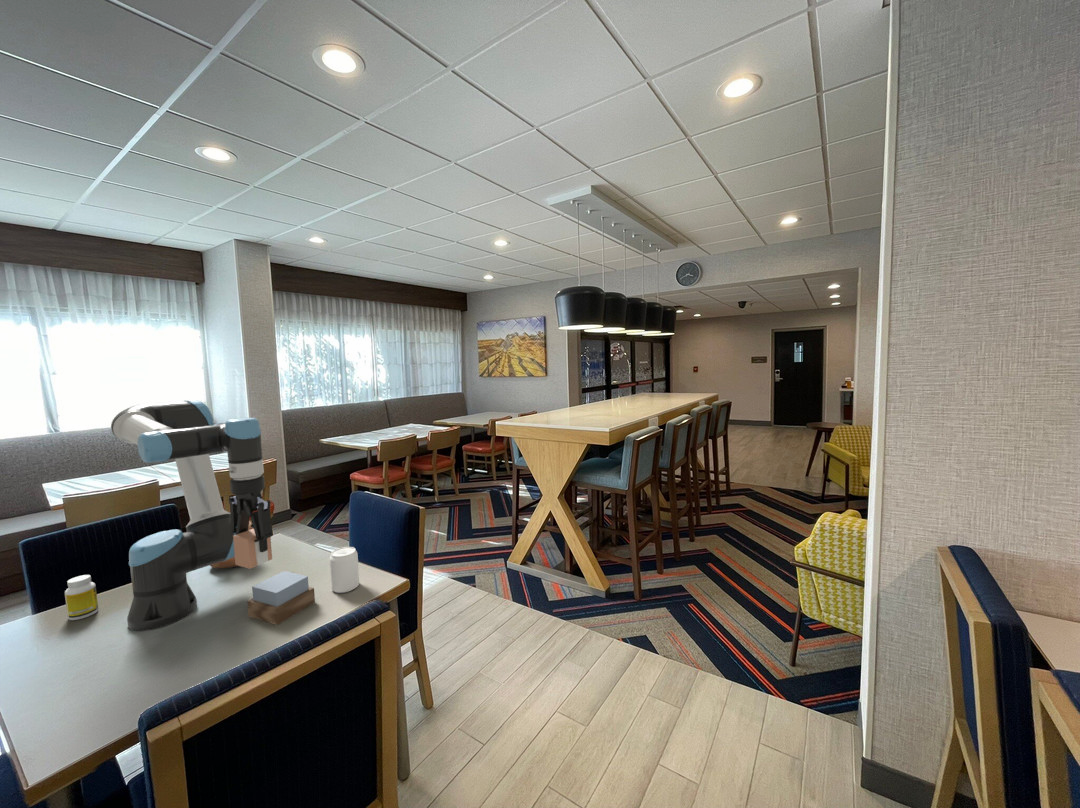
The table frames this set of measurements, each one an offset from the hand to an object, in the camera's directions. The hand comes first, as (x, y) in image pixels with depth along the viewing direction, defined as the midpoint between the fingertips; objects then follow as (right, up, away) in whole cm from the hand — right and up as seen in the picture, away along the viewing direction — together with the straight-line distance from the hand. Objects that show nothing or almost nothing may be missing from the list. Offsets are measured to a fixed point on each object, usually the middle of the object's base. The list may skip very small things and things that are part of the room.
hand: (254, 560), depth 118 cm
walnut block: (+2, -18, +10) cm, 21 cm away
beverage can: (+15, -17, +22) cm, 31 cm away
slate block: (+2, -13, +10) cm, 17 cm away
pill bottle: (-56, -19, +9) cm, 60 cm away
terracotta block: (0, 0, 0) cm, 0 cm away
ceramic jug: (-34, -16, +42) cm, 56 cm away
